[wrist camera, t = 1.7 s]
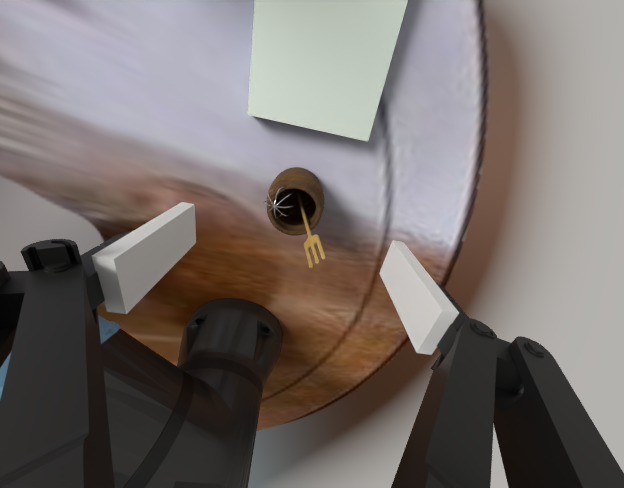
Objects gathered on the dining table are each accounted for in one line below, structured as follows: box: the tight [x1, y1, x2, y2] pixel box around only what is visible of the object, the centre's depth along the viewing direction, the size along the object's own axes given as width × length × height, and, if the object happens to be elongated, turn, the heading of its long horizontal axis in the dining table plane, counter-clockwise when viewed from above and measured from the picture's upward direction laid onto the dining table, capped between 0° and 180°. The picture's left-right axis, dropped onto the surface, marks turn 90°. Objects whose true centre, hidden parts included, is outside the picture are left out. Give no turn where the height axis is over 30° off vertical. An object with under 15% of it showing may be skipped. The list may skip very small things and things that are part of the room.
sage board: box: [248, 0, 408, 142], centre depth 20 cm, size 14×12×2 cm
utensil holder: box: [263, 168, 326, 268], centre depth 22 cm, size 6×6×12 cm
